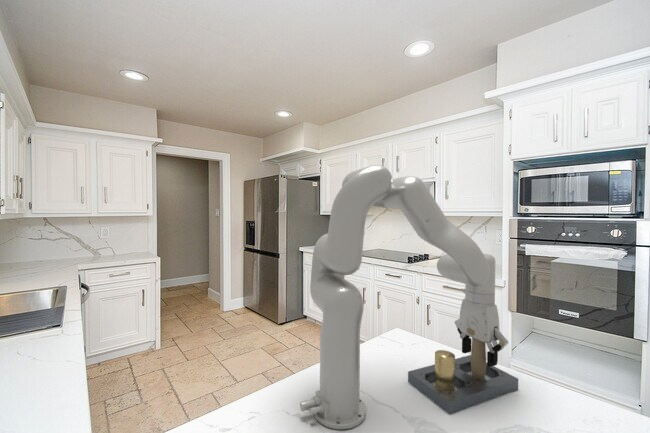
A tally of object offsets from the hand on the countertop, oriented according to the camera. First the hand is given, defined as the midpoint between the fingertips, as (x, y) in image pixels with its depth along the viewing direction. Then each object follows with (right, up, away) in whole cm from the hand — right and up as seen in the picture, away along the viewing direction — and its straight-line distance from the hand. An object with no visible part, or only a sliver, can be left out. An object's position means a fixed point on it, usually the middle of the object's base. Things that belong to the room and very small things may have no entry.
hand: (478, 358), depth 87 cm
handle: (0, -7, 0) cm, 7 cm away
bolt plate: (-6, -6, -3) cm, 9 cm away
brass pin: (-12, -6, -5) cm, 14 cm away
